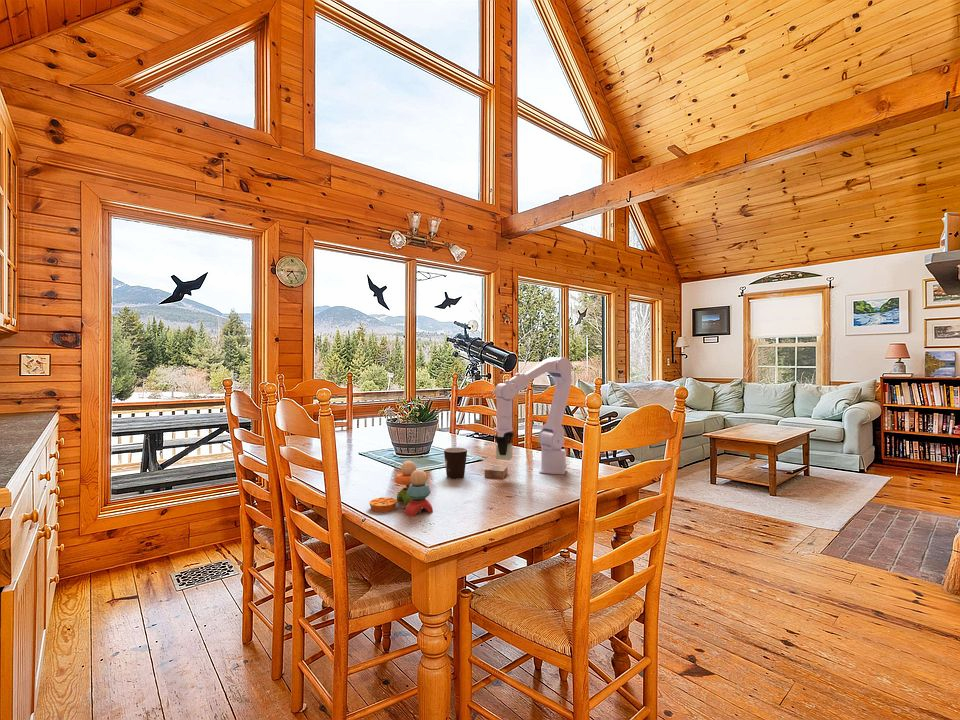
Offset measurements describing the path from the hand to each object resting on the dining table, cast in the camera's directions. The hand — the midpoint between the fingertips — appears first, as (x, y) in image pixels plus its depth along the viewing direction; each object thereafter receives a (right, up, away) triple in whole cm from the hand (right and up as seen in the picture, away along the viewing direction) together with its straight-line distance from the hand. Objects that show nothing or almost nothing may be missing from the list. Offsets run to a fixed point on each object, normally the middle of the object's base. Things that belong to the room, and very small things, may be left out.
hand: (504, 453), depth 177 cm
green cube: (0, -2, 0) cm, 2 cm away
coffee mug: (-18, -9, +3) cm, 20 cm away
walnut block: (-3, -9, +4) cm, 10 cm away
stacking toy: (-31, -10, -34) cm, 48 cm away
